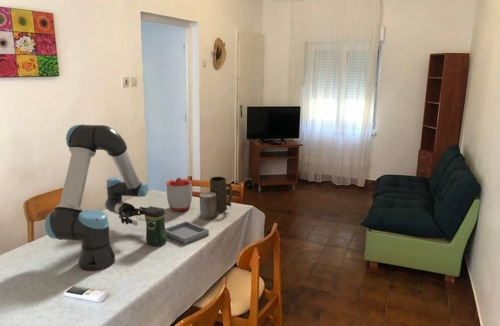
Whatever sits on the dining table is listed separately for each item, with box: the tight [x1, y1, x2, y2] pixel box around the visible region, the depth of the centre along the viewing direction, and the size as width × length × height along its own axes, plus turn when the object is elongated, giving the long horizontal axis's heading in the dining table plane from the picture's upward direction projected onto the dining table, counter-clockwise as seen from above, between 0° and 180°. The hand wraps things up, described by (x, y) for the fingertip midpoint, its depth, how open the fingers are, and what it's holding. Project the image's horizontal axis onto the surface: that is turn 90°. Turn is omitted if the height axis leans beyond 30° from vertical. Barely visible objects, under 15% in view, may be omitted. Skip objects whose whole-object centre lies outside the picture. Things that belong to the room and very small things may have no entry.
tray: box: [165, 220, 210, 246], centre depth 207 cm, size 16×18×3 cm
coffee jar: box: [144, 205, 168, 247], centre depth 196 cm, size 10×8×19 cm
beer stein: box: [209, 176, 234, 213], centre depth 244 cm, size 15×11×20 cm
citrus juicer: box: [165, 177, 193, 212], centre depth 245 cm, size 16×17×20 cm
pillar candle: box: [199, 191, 218, 221], centre depth 232 cm, size 10×10×15 cm
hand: (148, 219), depth 200 cm, fingers open, 13 cm apart
